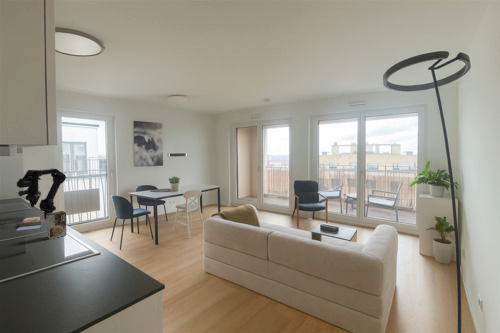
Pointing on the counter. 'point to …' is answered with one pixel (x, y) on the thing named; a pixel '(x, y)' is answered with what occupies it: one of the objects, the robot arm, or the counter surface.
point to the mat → (28, 227)
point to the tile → (31, 219)
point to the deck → (32, 223)
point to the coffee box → (56, 224)
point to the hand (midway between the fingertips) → (33, 206)
